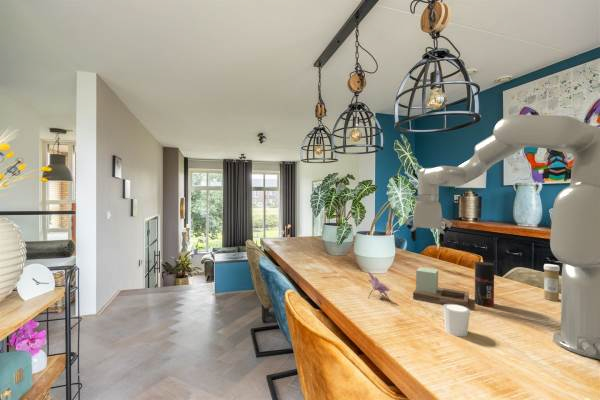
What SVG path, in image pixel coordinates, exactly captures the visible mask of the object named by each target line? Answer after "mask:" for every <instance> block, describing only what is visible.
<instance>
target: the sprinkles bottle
mask: <svg viewBox="0 0 600 400" xmlns="http://www.w3.org/2000/svg"><path fill="white" fill-rule="evenodd" d="M560 269H561V268H560V265H557V264H551V263H544V265H543V270H544V273H543V274H544V277H543V281H544V282H543V298H544V299H545V300H548V301H554V302H558V301H560Z"/></svg>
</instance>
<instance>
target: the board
mask: <svg viewBox="0 0 600 400" xmlns="http://www.w3.org/2000/svg"><path fill="white" fill-rule="evenodd" d="M469 298H470V293H469V292H468V291H464V290H457V289H451V288H445V287H439V286H438V290H437V292H436V294H432V293H426V292H420V291H416V288H415V289H414V291H413V292H412V299H413V300H417V301H423V302H429V303H432V304H433V303H434V304H438V305H442V306H443V305H445V304H457V305H461V306H464V307H467V308H468V309H469V307H468V306H469Z"/></svg>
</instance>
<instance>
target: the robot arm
mask: <svg viewBox="0 0 600 400" xmlns="http://www.w3.org/2000/svg"><path fill="white" fill-rule="evenodd" d="M525 148H540V149H547V150H552V151H556V152H562V153H564V154H565V153H566V154H570V155H571V156H572V157H573V162H572V166H571V170H570V171H571V173H570V174H571V175H570V177H571V178H570V183H569V186H567V187H565V188H563V189H562V190H561V191H560V192H559V193H558V194H557V196H556V197H555V199H554V203H553V206H552V215H551V225H550V239H549V245H550V251H551V253H552V254H553V256H554V257H555V258H556V259H557V260H558V262H561V263H562V267H561V269H562V270H561V286H560V287H561V289H560V290H561V291H560V297H561V298H560V331H557V332H554V333H553V334H552V339H553V341H554V343H556V344H557V345H558V346H560V347H561V348H563V349H565V350H568V351H570V352H572V353H574V354H577V355H580V356H584V357H587V358H591V359H597V360H600V127H598V126H594V125H592V124H588V122H587V123H586V122H584V121H581V120H580V119H578V118H576V117H572V116H569V115H556V114H555V115H554V114H553V115H551V114H550V115H547V114H546V115H544V114H541V115H540V114H539V115H538V114H511V115H510V114H509V115H507V116H505V117H503V118H501V119H499V120H498V121H497V122H496V124H495V126H494V127H493V130H492V134H491V135H490V136H488V137H486V138H485V139H483V140H481V141H480V142H478V143H477V144H476V145H475V146H474V150H473V151H474V154H473V156H471V157H470V158H469V159H468V160H467V161H465V162H463V163H461V164H460V165H458V166H451V165H438V166H435V167H424V168H420V169H419V170H418V174H417V179H418V180H417V195H415V196H413V200H415V201H417V202H415V204H414V208H413V216H411V217H409V218H407V219H405V220H404V223H405V224H406V227H407V228H408V229H409V230H410V231H411V235H410V237H411V240H412V242H416V241H417V231H416V229H418V228H421V229H423V228H424V229H436V230H438V231H439V234H438V237H439V238H438V244H439V245H441V244H443V243H444V242H445V233H446V232H447V231H449V230H450V228H451V227H452V225H453V222H452V221H450V220H448V219H446V218H444V217H443V214H442V213H443V212H442V204H441V203H440V202H439V198H440V197H439V192H440V189H439V188H440V186H441V187H454V188H455V187H460V186H463V185H466V184H468V183H469V182H471V181H474V180H475V179H478V177H481V176H482V175H483V174H485V173H486V172H487V171H488V170H490V168H491V167H492V166H494V165H495V164H497V163H499V162H500V161H502V160H504V159H507V158H509V157H510V156H511V155H514V154H515V153H518V152H519V151H521V150H523V149H525ZM410 222H412V223H413V224H412V225H413V226H412V225H411V223H410ZM443 223H445V224H446V226H445V227H444V228H443Z"/></svg>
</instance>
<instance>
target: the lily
mask: <svg viewBox="0 0 600 400" xmlns="http://www.w3.org/2000/svg"><path fill="white" fill-rule="evenodd" d="M366 272H367V273H368V275H369V276H370V278H371V279H369V280H368V281H367V282H369V283H370V284H372V290H371V291H370V292H369V295H368V296H367V299H369V298H370V296H371V294H372V292H374V291H378V293H379V294H383V295H384V296H385V297H386V298H387V299H388V300H389V299H390V298H389V296H388V294H387V293H386V292H390V291H391V290H390V288H389V287H388V286H386V284H384V283H381V282H380V281H379V279H378V278H377V276H374V275H373V274H372V273H371V272H370V271H369V270H366Z"/></svg>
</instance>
